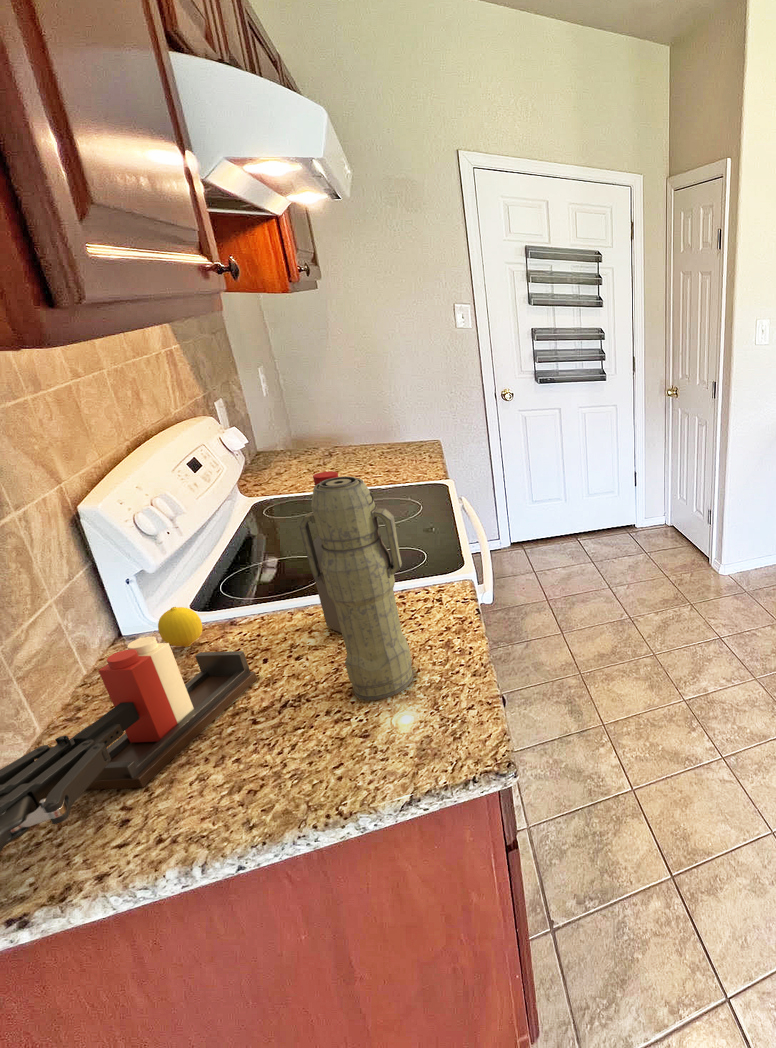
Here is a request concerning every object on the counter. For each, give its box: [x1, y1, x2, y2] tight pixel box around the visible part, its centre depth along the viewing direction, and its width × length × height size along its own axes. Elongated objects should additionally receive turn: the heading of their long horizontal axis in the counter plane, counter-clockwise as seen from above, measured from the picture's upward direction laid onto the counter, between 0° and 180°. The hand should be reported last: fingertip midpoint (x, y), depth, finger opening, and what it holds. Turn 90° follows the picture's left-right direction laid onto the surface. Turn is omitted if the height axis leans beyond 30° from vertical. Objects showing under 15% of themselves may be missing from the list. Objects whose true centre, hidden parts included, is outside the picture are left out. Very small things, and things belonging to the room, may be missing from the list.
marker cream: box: [126, 636, 194, 724], centre depth 80 cm, size 4×3×13 cm
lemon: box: [157, 606, 203, 648], centre depth 100 cm, size 6×6×8 cm
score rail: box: [85, 650, 258, 791], centre depth 82 cm, size 8×22×6 cm, turn 5°
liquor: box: [312, 470, 342, 634], centre depth 105 cm, size 9×9×30 cm
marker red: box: [98, 649, 177, 743], centre depth 77 cm, size 4×3×13 cm
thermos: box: [298, 476, 414, 701], centre depth 87 cm, size 9×12×35 cm
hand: (130, 710), depth 76 cm, fingers closed
